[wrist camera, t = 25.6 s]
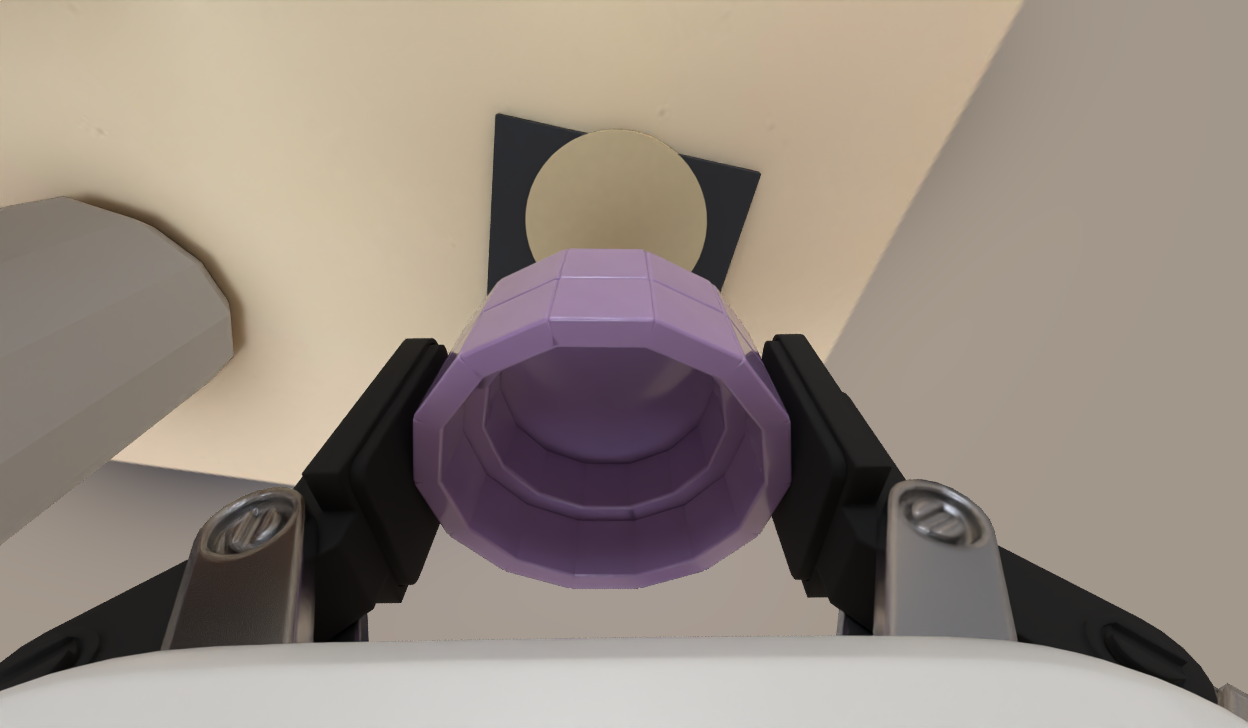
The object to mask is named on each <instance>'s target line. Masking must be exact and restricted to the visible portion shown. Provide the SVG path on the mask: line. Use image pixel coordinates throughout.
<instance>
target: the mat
mask: <svg viewBox="0 0 1248 728" xmlns="http://www.w3.org/2000/svg"><path fill="white" fill-rule="evenodd" d="M760 176H761V173H759V172H758V171H753V170H749V169H744V168H740V167H735V166H731V165H726V164H722V163H717V162H713V161H709V160H704V159H700V158H695V157H691V156H686V155H682V154H677V153H676V152H675V151H674V150H673V149H671V148H670V147H669V146H667V145H666V144H664V143H663V142H661V141H659V140H657V139H655V138H653V137H651V136H649V135H646V134H642V133H639V132H636V131H630V130H623V129H608V130H601V131H595V132H592V133H589V134H588V133H584V132H579V131H575V130H570V129H566V128H561V127H557V126H552V125H548V124H543V123H539V122H534V121H530V120H526V119H521V118H517V117H512V116H508V115H503V114H499V113H498V114H496V117H495V138H494V160H493V181H492V203H491V224H490V245H489V267H488V288H487V296H488V295H489V293H490V292H491V291H492V289H493V288H494V286H495V285H496V284H497V282H498V281H500V280H501V279H502V278H504V277H506V276H508V275H511V274H513V273H515V272H517V271H519V270H521V269H523V268H526V267H528V266H530V265H532V264H534V263H536V262H538V261H540V260H543V259H545V258H547V257H549V256H551V255H553V254H555V253H558V252H560V251H562V250H564V249H566V250H567V249H570V248H573V249H643V250H645V252H651V253H653V254H655V255H657V256H659V257H661V258H664V259H666V260H668V261H670V262H672V263H674V264H676V265H678V266H680V267H682V268H684V269H686V270H688V271H690V272H692V273H694V274H696V275H698V276H700V277H702V278H704V279H706V280H709V281H710V282H711V284H713V285H715V286H716V287H717V289H718V290H719V292H721V289H722V286H723V283H724V280H725V277H726V274H727V271H728V269H729V266H730V263H731V260H732V257H733V254H734V251H735V248H736V245H737V242H738V240H739V237H740V234H741V231H742V228H743V225H744V222H745V219H746V216H747V214H748V211H749V208H750V205H751V202H752V199H753V196H754V193H755V190H756V187H757V185H758V182H759V179H760Z"/></svg>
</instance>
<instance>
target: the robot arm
mask: <svg viewBox="0 0 1248 728" xmlns="http://www.w3.org/2000/svg"><path fill="white" fill-rule="evenodd" d="M447 357H448V354H447V350H446V348H445V346H444V345H438V343H437V341H436V340H435V339H433V338H413V339H405V340H404V341H403V342H402V344H401V345H400V346H399V348H398V349H397V350H396V351H395V353H394V354H393V355H392V357H391V358H390V359H389V361H388V362H387V363H386V365H385V366H384V367H383V368H382V370H381V371H380V372H379V374H378V375H377V376H376V378H375V379H374V380H373V381H372V383H371V384H370V385H369V387H368V388H367V389H366V391H365V392H364V393H363V394H362V396H361V397H360V398H359V400H358V401H357V402H356V404H355V405H354V406H353V408H352V409H351V410H350V411H349V413H348V414H347V415H346V417H345V418H344V419H343V421H342V422H341V423H340V424H339V426H338V427H337V428H336V430H335V431H334V432H333V434H332V435H331V436H330V438H329V439H328V440H327V441H326V443H325V444H324V445H323V447H322V448H321V449H320V451H319V452H318V453H317V454H316V456H315V457H314V458H313V460H312V461H311V462H310V464H309V465H308V466H307V467H306V469H305V470H304V471H303V473H302V476H303V477H302V478H301V479H300V481H299V482H298V483H297V485H296V486H295V487H294V489H290V488H287V487H273V488H268V489H263V490H259V491H256V492H253V493H250V494H248V495H245V496H243V497H240V498H239V499H237V500H235V501H233V502H232V503H230V504H228V505H226V506H225V507H223V508H222V509H221V510H220V511H218V512H217V513H216V514H214V515H213V516H212V517H211V518H210V519H209V520H208V521H207V522H206V523H205V524H204V526H203V527H202V528H201V529H200V530H199V532H198V534H197V536H196V538H195V540H194V543H193V546H192V549H191V553H190V556H189V559H188V560H186V561H184V562H182V563H180V564H179V565H176V566H174V567H172V568H170V569H168V570H167V571H164V572H163V573H161V574H159V575H157V576H155V577H153V578H151V579H149V580H147V581H145V582H143V583H141V584H139V585H137V586H135V587H133V588H131V589H129V590H127V591H125V592H124V593H122V594H120V595H118V596H116V597H114V598H112V599H110V600H108V601H106V602H104V603H102V604H100V605H98V606H96V607H94V608H92V609H90V610H88V611H87V612H85V613H83V614H81V615H79V616H77V617H75V618H73V619H71V620H69V621H67V622H65V623H63V624H61V625H59V626H57V627H55V628H53V629H52V630H49V631H48V632H46V633H44V634H42V635H41V636H39V637H37V638H35V639H34V640H32V641H30V642H29V643H27V644H25V645H24V646H22V647H20V648H19V649H18V650H16V651H15V652H14V653H13V654H11V655H10V656H9V657H7V658H6V659H5V660H3V661H2V662H1V663H0V728H1248V694H1246V693H1244V692H1242V691H1241V690H1239V689H1237V688H1235V687H1233V686H1232V685H1230V684H1228V683H1227V684H1225V685H1224V686H1222V687H1221V688H1219V689H1218V688H1216V687H1214V686H1213V684H1212V683H1211V681H1210V680H1209V678H1208V677H1207V675H1206V674H1205V672H1204V671H1203V669H1202V668H1201V666H1200V665H1199V664H1198V663H1197V662H1196V661H1195V660H1194V659H1193V658H1192V657H1191V656H1190V655H1189V654H1188V653H1187V652H1186V651H1185V649H1183V648H1182V647H1181V646H1180V645H1178V644H1177V643H1176V642H1175V641H1174V640H1172V639H1171V638H1170V637H1168V636H1167V635H1166V634H1165V633H1163V632H1162V631H1161V630H1159V629H1157V628H1155V627H1154V626H1152V625H1150V624H1149V623H1147V622H1145V621H1144V620H1142V619H1140V618H1139V617H1137V616H1135V615H1133V614H1131V613H1129V612H1127V611H1125V610H1123V609H1121V608H1119V607H1117V606H1115V605H1113V604H1111V603H1109V602H1107V601H1105V600H1103V599H1102V598H1100V597H1098V596H1096V595H1094V594H1092V593H1090V592H1088V591H1086V590H1084V589H1082V588H1080V587H1078V586H1076V585H1074V584H1072V583H1070V582H1068V581H1067V580H1065V579H1063V578H1061V577H1059V576H1057V575H1055V574H1053V573H1051V572H1049V571H1047V570H1045V569H1043V568H1041V567H1039V566H1037V565H1035V564H1033V563H1031V562H1029V561H1028V560H1026V559H1024V558H1022V557H1020V556H1018V555H1016V554H1014V553H1012V552H1010V551H1008V550H1006V549H1004V548H1002V547H1000V546H998V544H997V540H996V535H995V531H994V528H993V526H992V523H991V521H990V519H989V518H988V516H987V515H986V514H985V513H984V512H983V510H982V509H981V508H980V507H979V506H978V505H977V504H975V503H974V502H973V501H972V500H970V499H969V498H968V497H966V496H965V495H963V494H961V493H959V492H958V491H956V490H954V489H953V488H950V487H948V486H945V485H942V484H940V483H937V482H933V481H927V480H922V479H914V480H906V479H905V478H904V477H903V475H902V473H901V472H900V471H899V469H898V468H897V466H896V465H895V463H894V462H893V460H892V459H891V457H890V456H889V454H888V453H887V452H886V450H885V449H884V447H883V446H882V444H881V443H880V441H879V440H878V438H877V437H876V435H875V434H874V433H873V431H872V430H871V428H870V427H869V425H868V424H867V422H866V421H865V419H864V418H863V416H862V415H861V414H860V412H859V411H858V409H857V408H856V406H855V405H854V403H853V402H852V400H851V399H850V397H849V396H848V395H847V394H846V393H844V392H842V391H841V390H840V388H839V387H838V385H837V384H836V382H835V381H834V379H833V378H832V376H831V375H830V373H829V372H828V370H827V369H826V367H825V366H824V364H823V363H822V361H821V360H820V358H819V357H818V355H817V354H816V352H815V351H814V349H813V348H812V346H811V345H810V343H809V342H808V340H807V339H806V337H805V336H804V335H803V334H776V335H775V336H774V338H773V340H772V341H766V342H765V344H764V348H763V354H762V361H763V363H764V366H765V368H766V370H767V371H768V373H769V376H770V378H771V380H772V382H773V384H774V386H775V388H776V390H777V392H778V394H779V396H780V399H781V401H782V403H783V405H784V407H785V409H786V411H787V413H788V415H789V419H790V421H791V454H792V482H791V485H790V487H789V489H788V490H787V492H786V494H785V495H784V497H783V498H782V500H781V502H780V503H779V505H778V506H777V508H776V509H775V511H774V513H773V514H772V518H773V521H774V524H775V527H776V530H777V533H778V536H779V539H780V542H781V545H782V548H783V551H784V554H785V557H786V560H787V563H788V566H789V569H790V572H791V575H792V576H793V577H794V579H795V580H802V583H803V586H804V589H805V592H806V594H807V597H809V598H810V597H828V598H829V601H830V603H831V604H833V605H834V606H835V607H837V608H838V609H839V613H838V623H837V633H836V636H735V637H734V636H731V637H729V636H725V637H639V638H638V637H635V638H633V637H632V638H558V639H557V638H556V639H491V640H489V639H488V640H432V641H379V642H369V640H368V617H367V613H368V612H370V611H371V610H373V609H374V607H375V604H376V603H401V602H402V600H403V597H404V595H405V592H406V590H407V587H408V585H413V584H415V583H416V582H417V580H418V578H419V576H420V573H421V571H422V569H423V566H424V563H425V561H426V558H427V555H428V553H429V550H430V547H431V545H432V543H433V540H434V537H435V535H436V532H437V530H438V527H439V524H440V522H439V521H438V519H437V518H436V516H435V515H434V513H433V512H432V510H431V508H430V507H429V505H428V504H427V502H426V501H425V499H424V498H423V496H422V495H421V493H420V492H419V490H418V489H417V487H416V486H415V484H414V481H413V418H414V414H415V412H416V411H417V409H418V407H419V405H420V404H421V402H422V400H423V398H424V397H425V395H426V393H427V392H428V390H429V388H430V386H431V385H432V383H433V381H434V379H435V378H436V376H437V374H438V373H439V371H440V369H441V368H442V366H443V364H444V362H445V360H446V359H447Z"/></svg>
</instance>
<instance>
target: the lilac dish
mask: <svg viewBox="0 0 1248 728" xmlns="http://www.w3.org/2000/svg"><path fill="white" fill-rule="evenodd" d="M413 481H414V484H415V486H416V487H417V489H418V490H419V492H420V493H421V495H422V496H423V498H424V499H425V501H426V502H427V504H428V505H429V507H430V508H431V510H432V512H433V513H434V515H435V516H436V518H437V519H438V521H439V522H440V524H441V525H442V526H443V528H444V530H445V531H446V533H448V534H449V535H450V536H451V537H452V538H454V539H455V540H457V541H458V542H460V543H461V544H463V545H465V546H466V547H468V548H470V549H471V550H473V551H474V552H476V553H477V554H479V555H480V556H482V557H483V558H485V559H487V560H488V561H490V562H491V563H493V564H494V565H496V566H498V567H499V568H501V569H502V570H505V571H506V572H510V573H514V574H517V575H521V576H525V577H529V578H532V579H536V580H540V581H543V582H547V583H551V584H555V585H558V586H562V587H566V588H572V589H638V588H639V587H640V588H644V587H647V586H651V585H655V584H658V583H662V582H666V581H669V580H673V579H677V578H680V577H684V576H688V575H692V574H695V573H699V572H702V571H704V570H707V569H709V568H710V567H712V566H713V565H715V564H716V563H718V562H719V561H721V560H722V559H724V558H725V557H727V556H728V555H730V554H732V553H733V552H735V551H736V550H738V549H739V548H741V547H742V546H744V545H745V544H747V543H748V542H750V541H751V540H753V539H754V538H756V537H757V536H758V534H760V533H761V532H762V530H763V528H764V527H765V525H766V524H767V522H768V521H769V519H770V517H771V516H772V514H773V513H774V511H775V509H776V508H777V506H778V505H779V503H780V502H781V500H782V498H783V497H784V495H785V494H786V492H787V490H788V489H789V487H790V485H791V482H792V454H791V421H790V419H789V415H788V413H787V411H786V409H785V407H784V405H783V403H782V401H781V399H780V396H779V394H778V392H777V390H776V388H775V386H774V384H773V382H772V380H771V378H770V376H769V373H768V371H767V370H766V368H765V366H764V363H763V361H762V359H761V357H760V355H759V353H758V351H757V349H756V347H755V345H754V342H753V340H752V338H751V336H750V334H749V332H748V331H747V329H746V328H745V326H744V325H743V324H742V322H741V321H740V319H739V318H738V317H737V315H736V314H735V312H734V311H733V310H732V308H731V307H730V306H729V304H728V303H727V301H726V300H725V299H724V297H723V296H722V294H721V293H720V292H719V290H718V289H717V287H716V286H715V285H713V284H711V282H710V281H709V280H706V279H704V278H702V277H700V276H698V275H696V274H694V273H692V272H690V271H688V270H686V269H684V268H682V267H680V266H678V265H676V264H674V263H672V262H670V261H668V260H666V259H664V258H661V257H659V256H657V255H655V254H653V253H651V252H645V250H643V249H573V248H570V249H567V250H566V249H564V250H562V251H560V252H558V253H555V254H553V255H551V256H549V257H547V258H545V259H543V260H540V261H538V262H536V263H534V264H532V265H530V266H528V267H526V268H523V269H521V270H519V271H517V272H515V273H513V274H511V275H508V276H506V277H504V278H502V279H501V280H500V281H498V282H497V284H496V285H495V286H494V288H493V289H492V291H491V292H490V293H489V295H488V296H487V297H486V299H485V300H484V302H483V303H482V304H481V306H480V307H479V309H478V310H477V311H476V313H475V314H474V316H473V317H472V318H471V320H470V321H469V322H468V324H467V325H466V327H465V328H464V329H463V331H462V333H461V334H460V336H459V338H458V340H457V341H456V343H455V345H454V347H453V348H452V350H451V352H450V353H449V355H448V357H447V359H446V360H445V362H444V364H443V366H442V368H441V369H440V371H439V373H438V374H437V376H436V378H435V379H434V381H433V383H432V385H431V386H430V388H429V390H428V392H427V393H426V395H425V397H424V398H423V400H422V402H421V404H420V405H419V407H418V409H417V411H416V412H415V414H414V418H413Z"/></svg>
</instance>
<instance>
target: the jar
mask: <svg viewBox="0 0 1248 728" xmlns="http://www.w3.org/2000/svg"><path fill="white" fill-rule="evenodd" d="M233 356H234V353H233V340H232V327H231V315H230V308H229V302H228V301H227V299H226V298H225V296H224V295H223V293H222V292H221V290H220V289H219V287H218V286H217V284H216V283H215V281H214V280H213V279H212V277H211V276H210V274H209V273H208V271H207V270H206V268H205V267H204V265H203V264H202V262H201V261H199V260H198V259H197V258H195V257H194V256H192V255H191V254H190V253H188V252H187V251H186V250H184V249H183V248H182V247H180V246H179V245H178V244H176V243H175V242H173V241H172V240H171V239H169V238H168V237H167V236H165V235H164V234H163V233H161V232H160V231H159V230H157V229H156V228H154V227H153V226H150V225H148V224H145V223H143V222H141V221H138V220H136V219H133V218H130V217H127V216H124V215H121V214H117V213H114V212H111V211H108V210H105V209H102V208H99V207H96V206H93V205H89V204H86V203H83V202H80V201H77V200H74V199H71V198H68V197H65V196H63V197H57V198H51V199H46V200H40V201H34V202H28V203H22V204H16V205H11V206H6V207H2V208H0V545H1V544H3V543H4V542H5V541H6V540H8V539H9V538H10V537H12V536H13V535H14V534H15V533H17V532H18V531H19V530H20V529H22V528H23V527H24V526H25V525H27V524H28V523H29V522H31V521H32V520H33V519H35V518H36V517H37V516H38V515H40V514H41V513H42V512H43V511H45V510H46V509H47V508H49V507H50V506H51V505H52V504H54V503H55V502H56V501H58V500H59V499H60V498H61V497H63V496H64V495H65V494H66V493H68V492H69V491H70V490H72V489H73V488H74V487H75V486H77V485H78V484H79V483H80V482H82V481H83V480H84V479H86V478H87V477H88V476H89V475H91V474H92V473H93V472H95V471H96V470H97V469H98V468H100V467H101V466H102V465H104V464H105V463H106V462H107V461H109V460H110V459H111V458H113V457H114V456H115V455H116V454H118V453H119V452H120V451H121V450H123V449H124V448H125V447H127V446H128V445H129V444H130V443H132V442H133V441H134V440H136V439H137V438H138V437H139V436H141V435H142V434H143V433H144V432H146V431H147V430H148V429H150V428H151V427H152V426H153V425H155V424H156V423H157V422H159V421H160V420H161V419H162V418H164V417H165V416H166V415H167V414H169V413H170V412H171V411H173V410H174V409H175V408H176V407H178V406H179V405H180V404H182V403H183V402H184V401H185V400H187V399H188V398H189V397H190V396H192V395H193V394H194V393H196V392H197V391H198V390H199V389H201V388H202V387H203V386H205V385H206V384H207V383H208V382H210V381H211V380H212V378H213V377H214V376H215V375H216V374H217V373H218V372H219V371H220V370H221V369H222V368H223V367H224V366H225V365H226V364H227V363H228V362H229V360H230V359H231V358H232V357H233Z"/></svg>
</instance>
